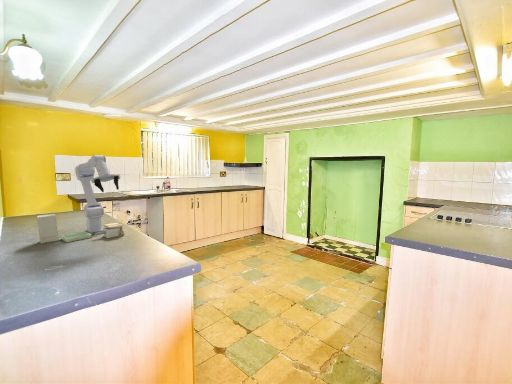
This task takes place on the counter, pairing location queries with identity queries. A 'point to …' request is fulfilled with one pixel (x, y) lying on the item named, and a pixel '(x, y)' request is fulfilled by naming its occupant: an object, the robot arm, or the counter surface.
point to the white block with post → (110, 232)
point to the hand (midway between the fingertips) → (110, 189)
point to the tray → (76, 236)
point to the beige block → (115, 225)
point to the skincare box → (47, 228)
